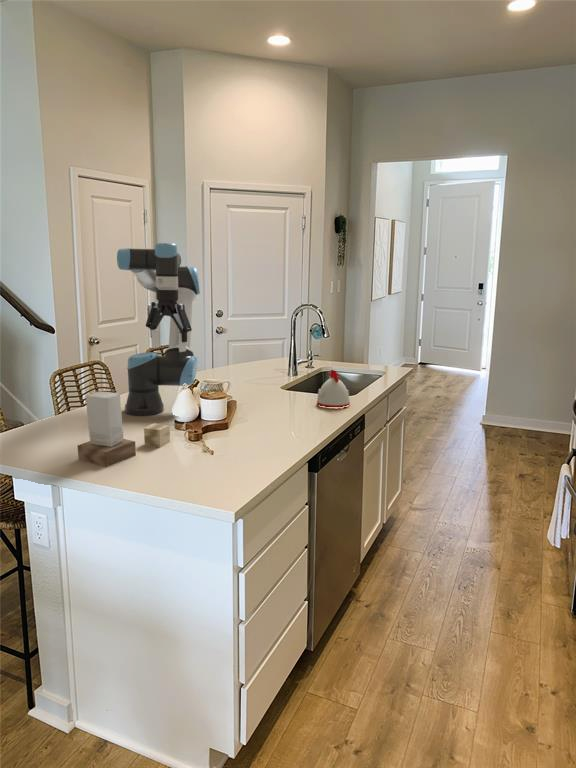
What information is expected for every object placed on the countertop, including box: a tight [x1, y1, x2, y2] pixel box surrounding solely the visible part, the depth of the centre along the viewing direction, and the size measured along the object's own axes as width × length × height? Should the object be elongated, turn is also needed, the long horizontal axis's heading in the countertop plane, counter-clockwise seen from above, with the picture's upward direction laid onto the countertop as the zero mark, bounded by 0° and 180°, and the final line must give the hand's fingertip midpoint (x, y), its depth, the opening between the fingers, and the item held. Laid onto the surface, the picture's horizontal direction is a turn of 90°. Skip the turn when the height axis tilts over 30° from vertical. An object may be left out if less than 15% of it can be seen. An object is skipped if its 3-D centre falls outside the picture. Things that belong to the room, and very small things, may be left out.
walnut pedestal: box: [77, 438, 137, 468], centre depth 181 cm, size 12×12×5 cm
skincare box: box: [85, 390, 125, 447], centre depth 179 cm, size 8×7×16 cm
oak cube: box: [143, 422, 171, 448], centre depth 195 cm, size 6×6×6 cm
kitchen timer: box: [316, 369, 350, 407], centre depth 249 cm, size 14×14×15 cm
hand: (168, 349), depth 207 cm, fingers open, 13 cm apart
